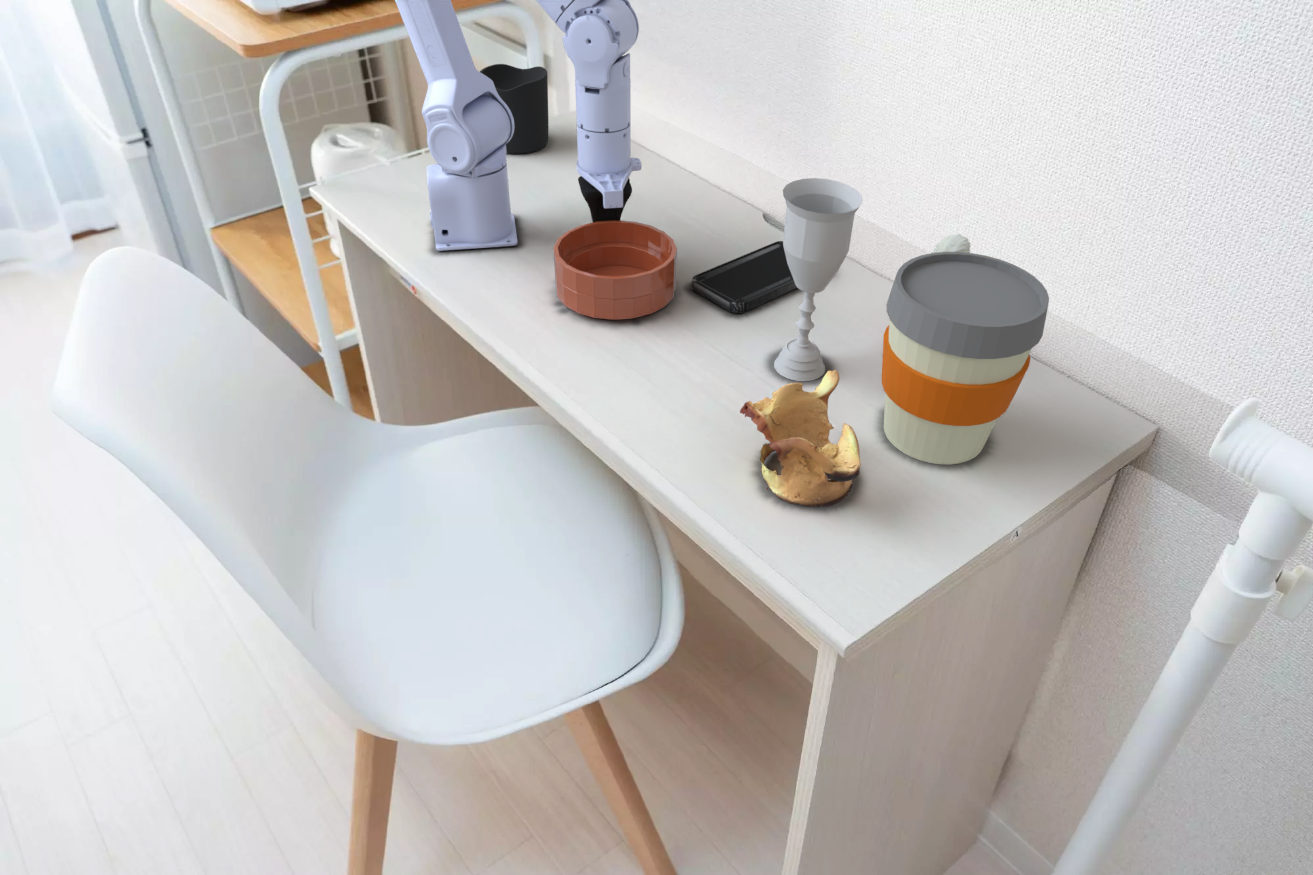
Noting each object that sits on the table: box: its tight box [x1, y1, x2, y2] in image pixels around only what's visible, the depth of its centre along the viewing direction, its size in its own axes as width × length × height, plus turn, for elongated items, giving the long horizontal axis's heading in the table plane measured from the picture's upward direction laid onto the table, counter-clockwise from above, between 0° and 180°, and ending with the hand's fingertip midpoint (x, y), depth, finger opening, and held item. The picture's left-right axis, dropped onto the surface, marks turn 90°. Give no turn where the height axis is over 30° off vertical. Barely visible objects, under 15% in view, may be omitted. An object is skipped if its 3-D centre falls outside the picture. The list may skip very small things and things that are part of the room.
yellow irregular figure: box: [739, 369, 862, 508], centre depth 77 cm, size 12×10×8 cm
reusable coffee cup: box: [881, 252, 1050, 465], centre depth 80 cm, size 13×13×15 cm
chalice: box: [773, 177, 864, 382], centre depth 87 cm, size 7×7×18 cm
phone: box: [691, 240, 798, 314], centre depth 105 cm, size 8×1×15 cm
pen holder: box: [479, 63, 549, 155], centre depth 133 cm, size 9×9×10 cm
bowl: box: [552, 219, 678, 321], centre depth 101 cm, size 13×13×6 cm
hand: (605, 239), depth 108 cm, fingers closed
